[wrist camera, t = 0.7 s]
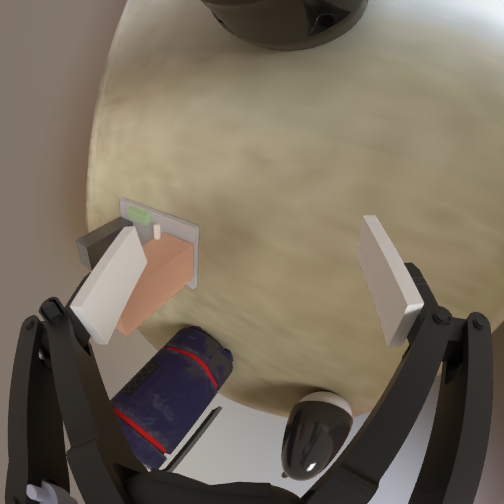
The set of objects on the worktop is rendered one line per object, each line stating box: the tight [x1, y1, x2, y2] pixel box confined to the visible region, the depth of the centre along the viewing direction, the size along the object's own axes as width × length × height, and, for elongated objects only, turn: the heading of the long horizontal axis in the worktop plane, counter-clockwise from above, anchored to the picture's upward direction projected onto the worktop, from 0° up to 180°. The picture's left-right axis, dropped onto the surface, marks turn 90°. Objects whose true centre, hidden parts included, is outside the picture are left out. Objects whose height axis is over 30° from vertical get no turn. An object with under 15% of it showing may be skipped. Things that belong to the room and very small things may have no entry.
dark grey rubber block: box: [76, 217, 133, 271], centre depth 36 cm, size 4×3×9 cm
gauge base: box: [119, 198, 199, 289], centre depth 38 cm, size 10×15×2 cm, turn 82°
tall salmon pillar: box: [115, 223, 193, 336], centre depth 31 cm, size 10×5×13 cm, turn 172°
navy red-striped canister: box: [110, 327, 233, 472], centre depth 34 cm, size 14×12×30 cm
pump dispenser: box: [281, 391, 353, 481], centre depth 32 cm, size 10×10×15 cm
